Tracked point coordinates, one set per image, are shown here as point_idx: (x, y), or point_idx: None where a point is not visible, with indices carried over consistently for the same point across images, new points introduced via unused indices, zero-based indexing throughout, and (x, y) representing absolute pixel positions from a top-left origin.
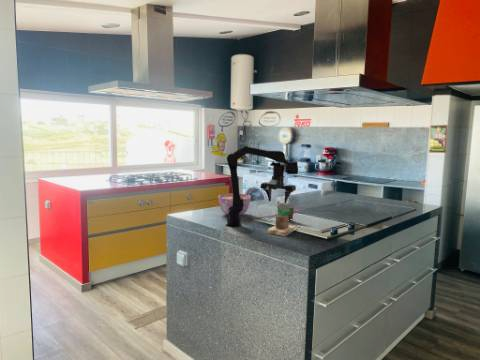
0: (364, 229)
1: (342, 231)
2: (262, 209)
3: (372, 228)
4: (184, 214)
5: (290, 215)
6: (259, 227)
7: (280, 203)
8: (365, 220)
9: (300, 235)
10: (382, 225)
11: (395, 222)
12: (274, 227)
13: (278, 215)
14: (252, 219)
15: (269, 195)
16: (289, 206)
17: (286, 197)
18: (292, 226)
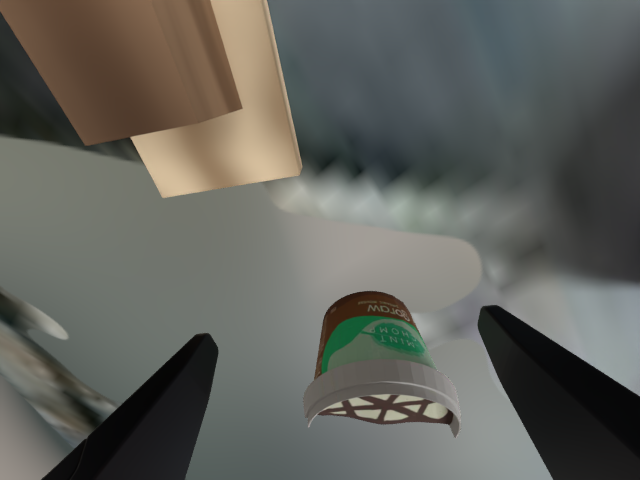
0: (39, 371)
1: (38, 310)
2: None
3: (42, 390)
4: None
5: (324, 337)
6: (419, 22)
7: (428, 414)
8: None
9: (29, 74)
10: (67, 423)
11: None
12: (227, 3)
13: (172, 63)
14: (564, 206)
15: (590, 437)
16: (322, 390)
17: (74, 452)
18: (165, 169)
